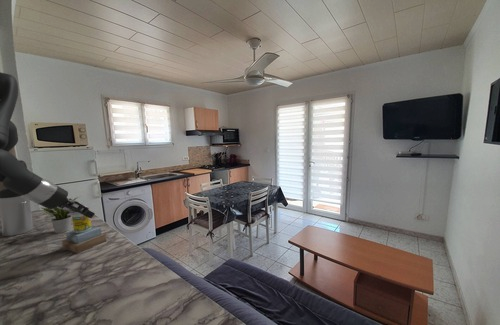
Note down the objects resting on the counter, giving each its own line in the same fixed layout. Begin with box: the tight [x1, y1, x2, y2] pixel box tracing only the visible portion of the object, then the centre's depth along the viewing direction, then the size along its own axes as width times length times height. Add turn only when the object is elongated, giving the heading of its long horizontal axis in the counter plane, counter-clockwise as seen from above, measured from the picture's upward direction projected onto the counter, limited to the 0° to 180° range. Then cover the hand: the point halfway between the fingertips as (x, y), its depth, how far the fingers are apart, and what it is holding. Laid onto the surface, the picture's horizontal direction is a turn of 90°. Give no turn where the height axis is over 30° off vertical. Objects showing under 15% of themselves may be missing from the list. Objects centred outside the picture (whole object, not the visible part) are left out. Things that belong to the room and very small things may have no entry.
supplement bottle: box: [72, 205, 92, 233], centre depth 79 cm, size 5×5×10 cm
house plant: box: [40, 196, 82, 234], centre depth 93 cm, size 14×14×16 cm
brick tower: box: [61, 224, 107, 254], centre depth 80 cm, size 10×10×6 cm
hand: (87, 214), depth 80 cm, fingers open, 6 cm apart
